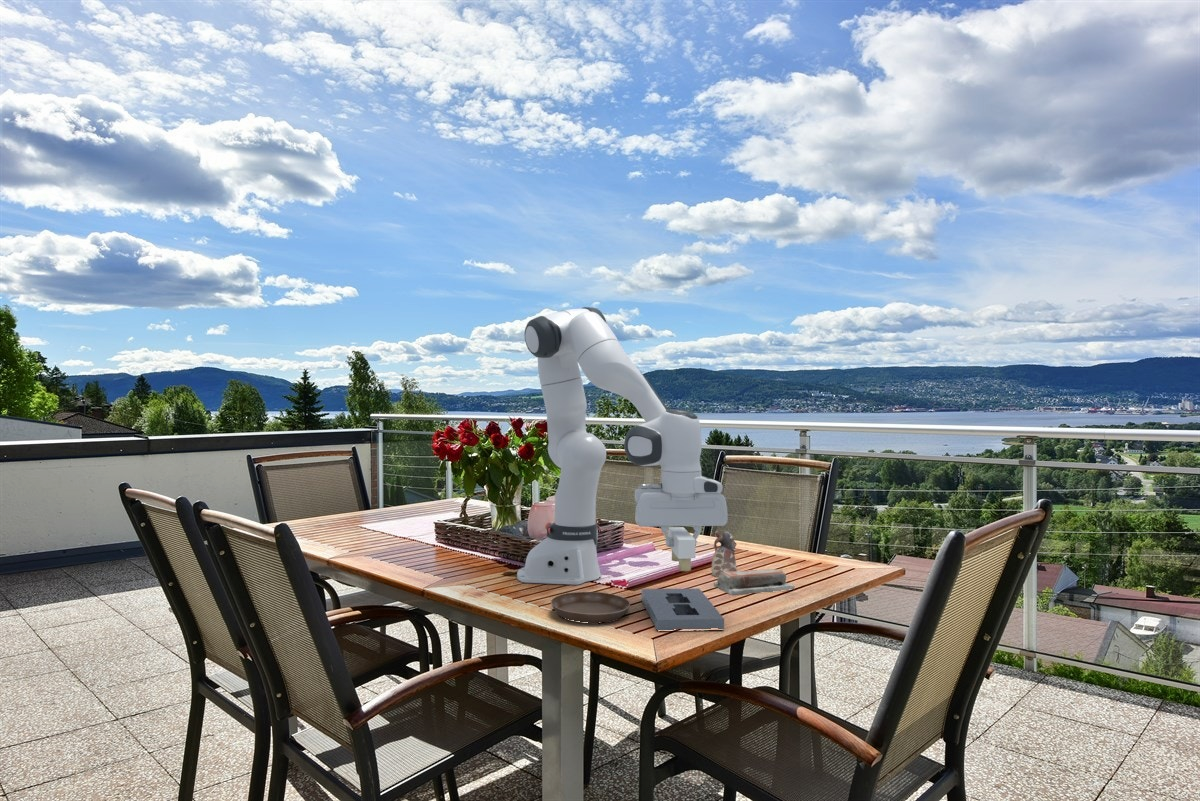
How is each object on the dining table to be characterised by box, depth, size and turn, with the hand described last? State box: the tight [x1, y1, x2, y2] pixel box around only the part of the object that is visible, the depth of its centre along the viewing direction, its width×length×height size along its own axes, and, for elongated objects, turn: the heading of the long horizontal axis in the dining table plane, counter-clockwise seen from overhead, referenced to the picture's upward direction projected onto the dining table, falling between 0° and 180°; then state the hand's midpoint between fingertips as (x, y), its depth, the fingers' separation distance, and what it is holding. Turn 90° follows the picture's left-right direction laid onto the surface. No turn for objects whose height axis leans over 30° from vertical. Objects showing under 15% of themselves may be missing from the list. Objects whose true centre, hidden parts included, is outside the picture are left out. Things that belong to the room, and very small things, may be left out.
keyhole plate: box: [641, 588, 725, 631], centre depth 164 cm, size 24×14×2 cm, turn 5°
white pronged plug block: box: [667, 526, 696, 572], centre depth 162 cm, size 14×4×7 cm, turn 4°
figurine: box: [711, 530, 738, 578], centre depth 201 cm, size 7×7×12 cm
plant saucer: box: [550, 591, 631, 623], centre depth 164 cm, size 18×18×3 cm
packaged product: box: [712, 568, 795, 596], centre depth 188 cm, size 18×5×10 cm
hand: (681, 546), depth 162 cm, fingers closed on white pronged plug block, 4 cm apart
